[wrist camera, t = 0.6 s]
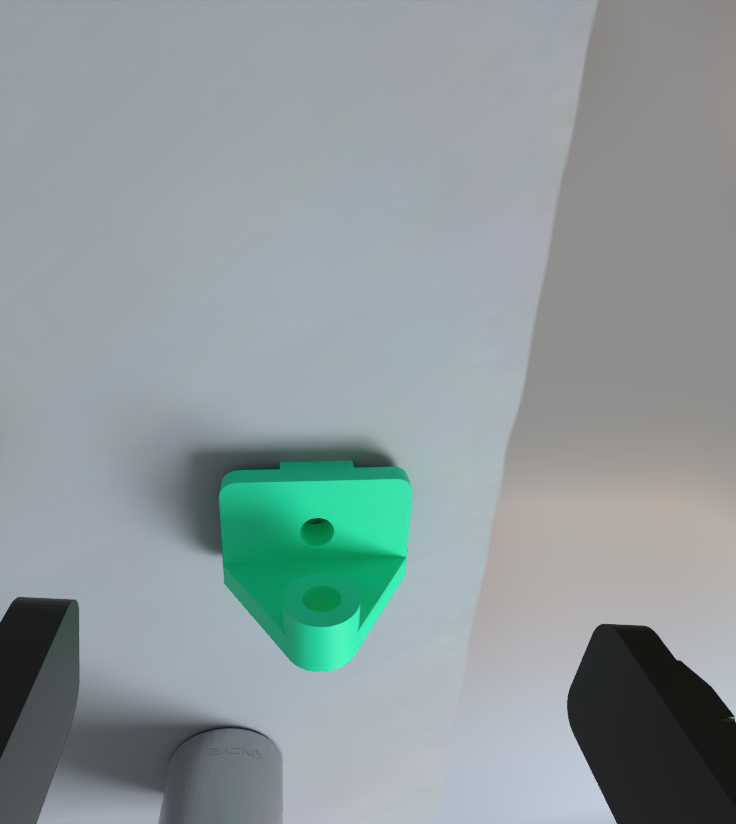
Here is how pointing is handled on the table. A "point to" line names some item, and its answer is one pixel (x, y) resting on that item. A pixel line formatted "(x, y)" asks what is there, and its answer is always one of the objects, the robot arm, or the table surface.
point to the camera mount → (315, 552)
